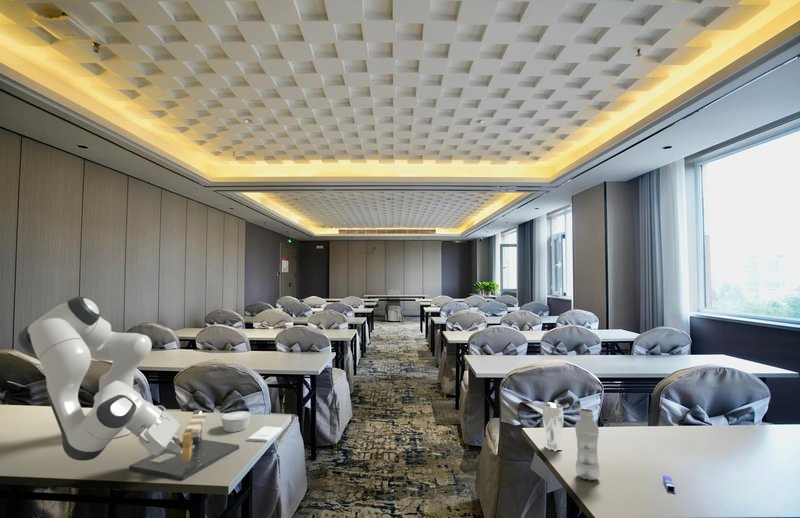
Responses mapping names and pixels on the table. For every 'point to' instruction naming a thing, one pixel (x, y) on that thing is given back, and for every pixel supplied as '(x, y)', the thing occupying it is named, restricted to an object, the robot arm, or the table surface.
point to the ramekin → (236, 421)
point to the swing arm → (191, 434)
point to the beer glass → (553, 425)
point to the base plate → (174, 467)
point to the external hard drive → (265, 434)
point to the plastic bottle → (587, 446)
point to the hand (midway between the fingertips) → (181, 449)
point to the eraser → (668, 482)
